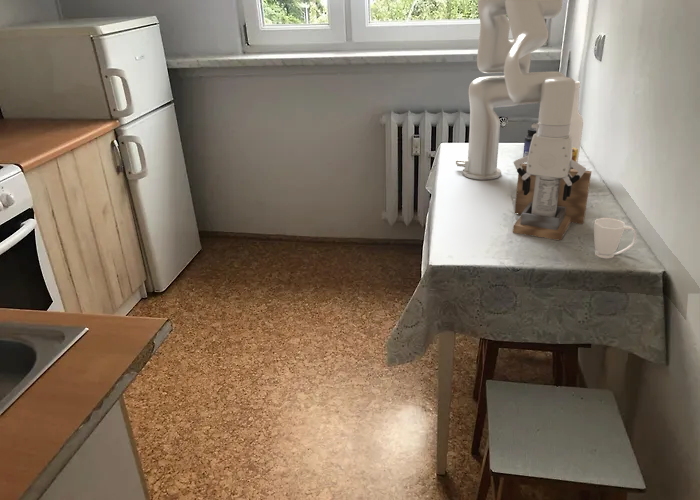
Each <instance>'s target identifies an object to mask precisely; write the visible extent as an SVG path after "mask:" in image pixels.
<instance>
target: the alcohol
mask: <svg viewBox="0 0 700 500" xmlns="http://www.w3.org/2000/svg"><path fill="white" fill-rule="evenodd" d="M574 81H575V84H576V86H575V95H574V102H573V110H572V118H571V125H570V133H569V135H571V136H572V147H573V148H576V149H578V153H577V159H576V162H577V163H578V164H579V156H580V150H581V149H580V147H581V141H582V135H583V128H584V118H583V116H582V114H580V112H579V99H580V87H581V82H580V81H579V80H574Z"/></svg>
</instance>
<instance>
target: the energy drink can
mask: <svg viewBox="0 0 700 500" xmlns="http://www.w3.org/2000/svg"><path fill="white" fill-rule="evenodd" d="M560 181H561V179H559V178H551V177H547V176H536V180H535V188H534V196H533V204H532V212H531V214H536V215H542V216H549V217H555V216H556V209H557V202H558V195H559V188H560Z"/></svg>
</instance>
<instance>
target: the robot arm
mask: <svg viewBox="0 0 700 500" xmlns="http://www.w3.org/2000/svg"><path fill="white" fill-rule="evenodd" d="M563 3H564V2H563V0H477V10H478V12H477V13H478V16H479V24H480V28H479V37H478V46H477V56H476V57H477V58H476V65H477V69H478V70H479V72H481V73H482V74H483V73H484V74H503V75H489V76H488V75H487V76H480V77H477V78H475V79H474V80H472V81H471V82H470V84H469V85H468V86H469V87H468V101H469V114H470V115H469V136H468V152H467V153H468V155H467V158H466V159H461V158H456V161H455V165H456V166H457V167H461V168H463V169H462V173H461V174H462V175H463V176H464V177H466V178H468V179H471V180H478V181H479V180H481V181H483V180H495V179H498V178H499V177H501V175H502V171H501V169H499V168H498V157H499V144H500V130H501V129H500V128H501V119H500V118H499V115H498V114H497V113H496V112H495V110H494V108H503V107H504V108H506V107H515V106H519V105H534V104H539V110H538V111H539V112H538V121H537V122H535V123H532V124H531V127H530V128H531V129H534V130H536V133H535V134H534V135H533V137H532V141H531V145H530V149H529V155H528V156H526V157H523V156H522V157H520V158H517V159H515V160H514V161H513V165H514V167H515V169H516V172H517V174H519V175H520V176H521V177H522V180H523V186H522V191H524V195H527V194H528V193H529V191H530V181H531V178H530V175H534V176H547V177H551V178H559V179H562V178H563V180H564V181H565V182H566V184H565V186H564V192H563V201H566V199H567V197H570V194H571V187H572V184H573V183H575V182H576V181H578V180H579V179H580V178H581V176H582V175H583V174H584V172H585V171H587V169H586V167H585V166H583V165H581V164H580V163H579V162H578V163H577V162H575V161H574V160H572V136H571V135H569V133H570V125H571V118H572V110H573V102H574V95H575V86H576V84H575V81H576V80H574V78H572V77H568V76H566V75H565V74H564V73H563V72H560V71H556V70H555V71H554V70H553V71H536V72H535V71H532V72H530V67H531V61H532V60H531V59H532V58H531V57H532V53H533V52H534V51H535V52H536V51H537V50H539V49H540V48H541V47H542V46H544V45H545V43H546V42H547V41H548V38H549V30H548V27H547V23H546V20H547V19H553V18H556V17H557V16H558V15H559V14H560V13H561V10H562V8H563V7H562V6H563ZM510 31H511V34H512V39H509V38H510V37H509V36H510ZM522 163H524V164H527V168H526V170H527V172H526V171H525V170H524V169H523V168H522V165H521V164H522ZM571 167H573V168H574V169H576V170H577V171H578V173H577V174H576V175H575V176H573V177H572V176H571V175H570V173H569V172H570V170H571Z"/></svg>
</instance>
